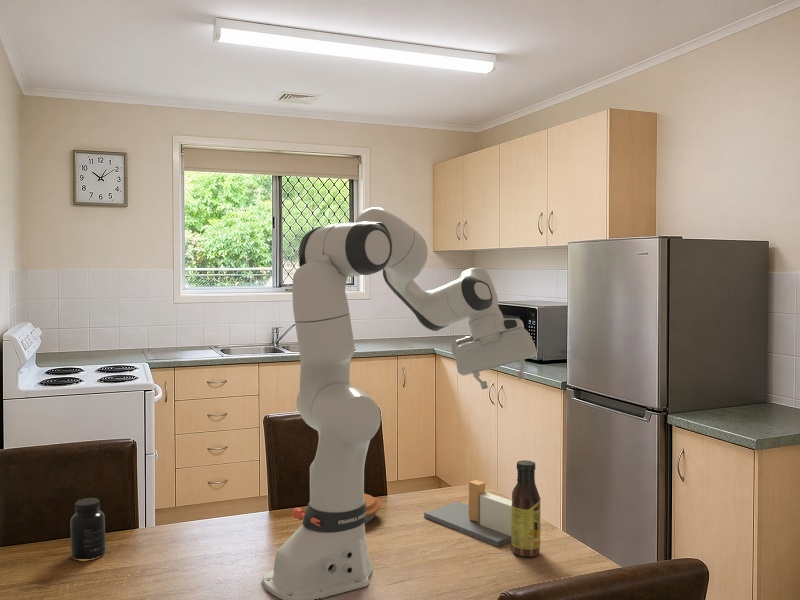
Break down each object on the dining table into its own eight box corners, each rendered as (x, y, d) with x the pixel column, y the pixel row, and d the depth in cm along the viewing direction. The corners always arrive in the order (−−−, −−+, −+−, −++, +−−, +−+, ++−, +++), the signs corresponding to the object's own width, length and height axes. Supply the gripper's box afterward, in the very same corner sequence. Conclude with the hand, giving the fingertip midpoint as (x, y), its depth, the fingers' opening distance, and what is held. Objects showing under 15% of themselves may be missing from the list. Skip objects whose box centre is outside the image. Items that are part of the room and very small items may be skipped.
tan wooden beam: (478, 522, 164) (478, 485, 163) (468, 518, 166) (468, 482, 166) (484, 519, 165) (485, 482, 165) (475, 516, 168) (475, 479, 167)
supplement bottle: (66, 555, 149) (64, 501, 148) (97, 546, 154) (96, 493, 153) (79, 565, 144) (77, 509, 143) (111, 555, 149) (109, 500, 148)
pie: (306, 519, 170) (305, 500, 170) (350, 503, 182) (350, 484, 181) (350, 535, 160) (350, 514, 160) (394, 517, 172) (394, 497, 171)
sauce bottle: (540, 559, 146) (541, 468, 145) (510, 557, 148) (511, 466, 147) (540, 547, 153) (540, 459, 152) (511, 545, 154) (512, 457, 153)
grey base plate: (498, 546, 153) (498, 510, 153) (424, 517, 171) (424, 484, 171) (531, 532, 161) (531, 498, 161) (457, 506, 179) (457, 475, 179)
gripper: (447, 340, 172) (461, 393, 169) (526, 317, 168) (542, 372, 165) (451, 343, 178) (465, 395, 175) (528, 321, 174) (543, 374, 171)
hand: (503, 383), depth 170 cm, fingers open, 8 cm apart
